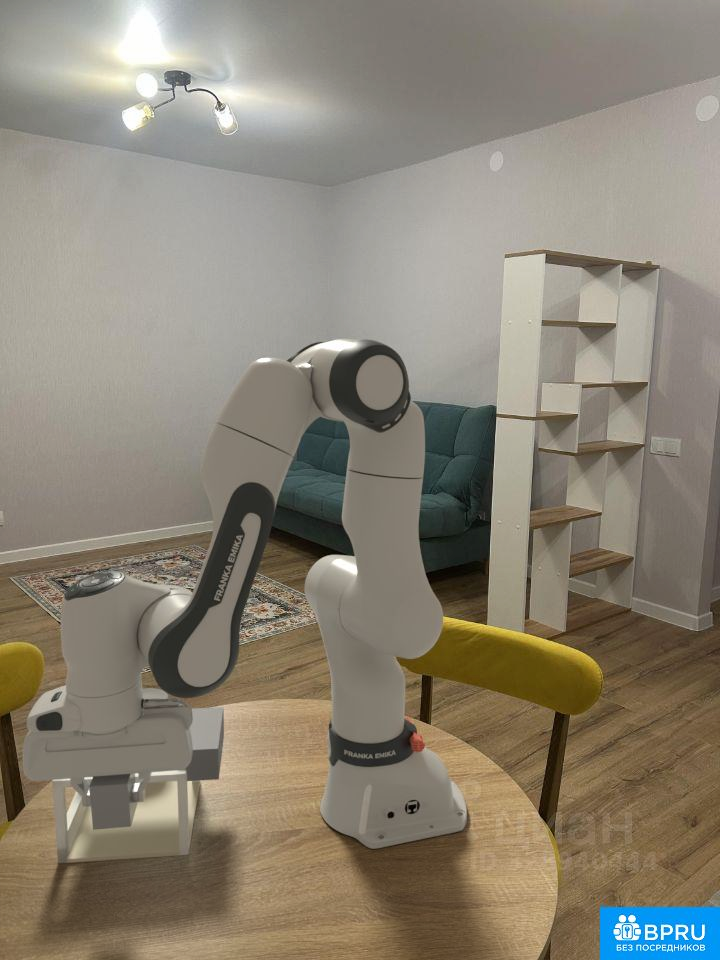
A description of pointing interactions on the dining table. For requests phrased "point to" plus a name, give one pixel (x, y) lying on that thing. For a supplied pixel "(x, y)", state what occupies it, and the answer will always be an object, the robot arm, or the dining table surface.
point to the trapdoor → (206, 743)
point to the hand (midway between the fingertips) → (114, 801)
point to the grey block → (112, 801)
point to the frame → (154, 826)
